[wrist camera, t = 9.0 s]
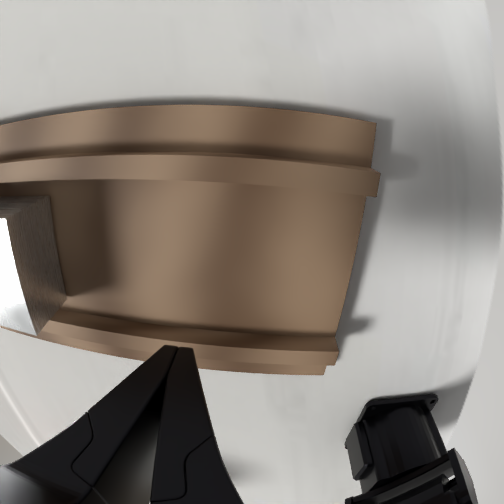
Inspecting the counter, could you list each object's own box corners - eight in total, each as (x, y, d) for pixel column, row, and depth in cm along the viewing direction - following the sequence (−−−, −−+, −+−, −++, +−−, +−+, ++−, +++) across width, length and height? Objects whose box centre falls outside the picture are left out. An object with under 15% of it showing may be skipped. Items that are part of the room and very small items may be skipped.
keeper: (49, 195, 13) (5, 219, 10) (67, 298, 16) (36, 335, 12) (-11, 197, 13) (-51, 217, 10) (9, 288, 16) (-22, 317, 12)
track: (368, 122, 13) (400, 126, 10) (321, 363, 18) (330, 406, 15) (-29, 132, 13) (-68, 143, 9) (7, 320, 18) (-17, 347, 15)
